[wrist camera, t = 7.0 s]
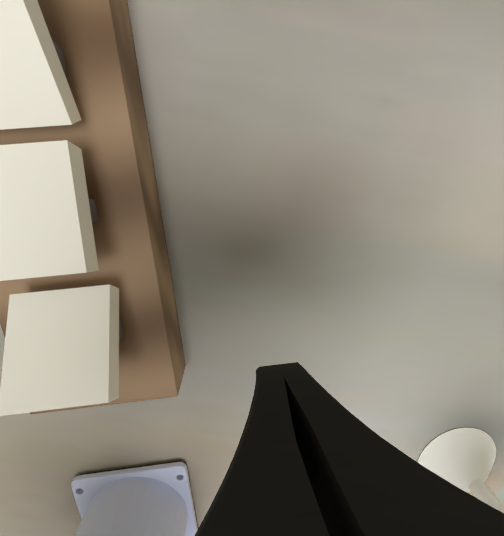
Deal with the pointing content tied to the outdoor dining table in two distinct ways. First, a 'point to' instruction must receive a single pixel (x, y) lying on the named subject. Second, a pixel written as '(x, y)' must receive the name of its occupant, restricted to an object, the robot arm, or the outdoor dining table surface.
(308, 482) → the robot arm
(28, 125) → the switch
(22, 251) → the switch
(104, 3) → the switch unit
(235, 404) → the outdoor dining table surface
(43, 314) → the switch
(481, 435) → the champagne flute
